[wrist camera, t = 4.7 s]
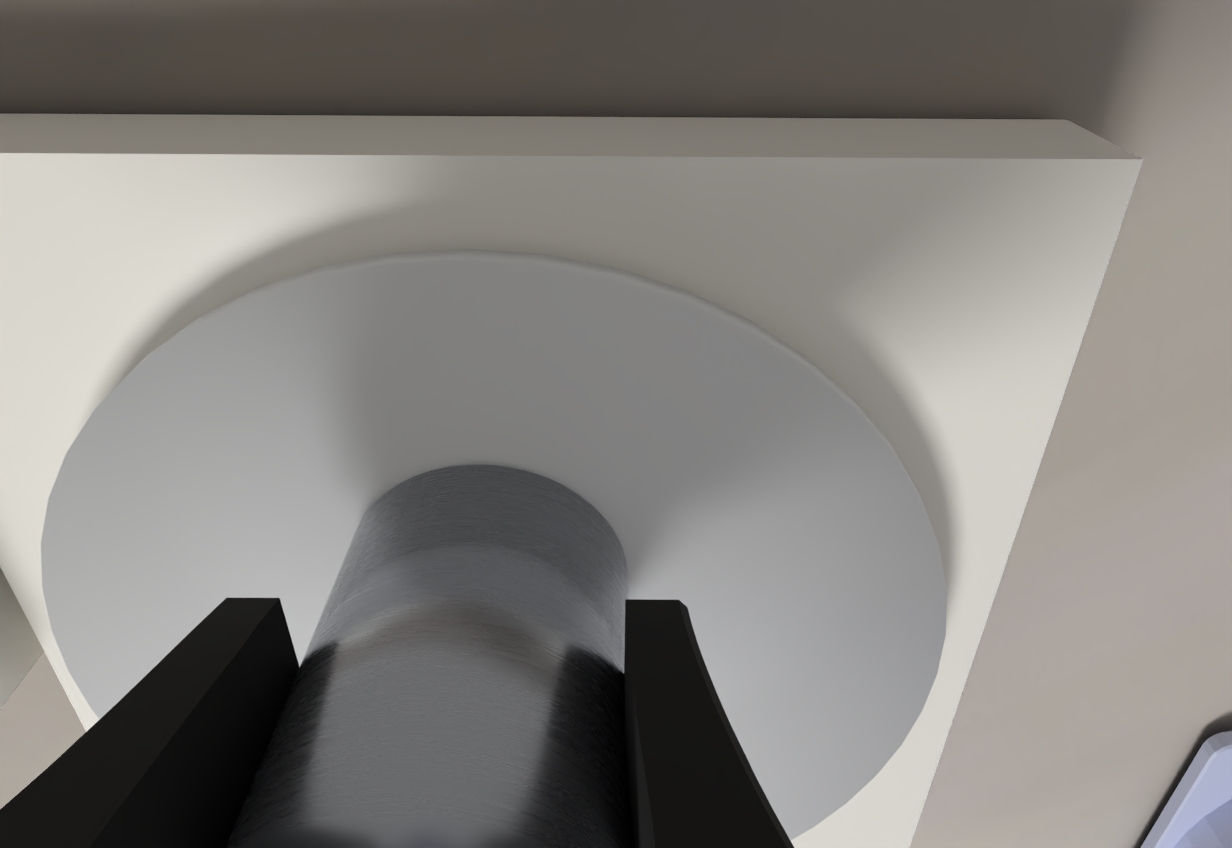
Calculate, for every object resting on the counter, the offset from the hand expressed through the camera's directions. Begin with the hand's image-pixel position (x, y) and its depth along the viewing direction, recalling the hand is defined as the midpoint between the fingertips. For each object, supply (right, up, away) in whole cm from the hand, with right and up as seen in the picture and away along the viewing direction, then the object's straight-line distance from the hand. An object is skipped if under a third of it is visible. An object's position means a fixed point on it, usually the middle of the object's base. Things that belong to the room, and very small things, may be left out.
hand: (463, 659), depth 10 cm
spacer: (0, +1, +2) cm, 2 cm away
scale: (-2, 0, +6) cm, 6 cm away
